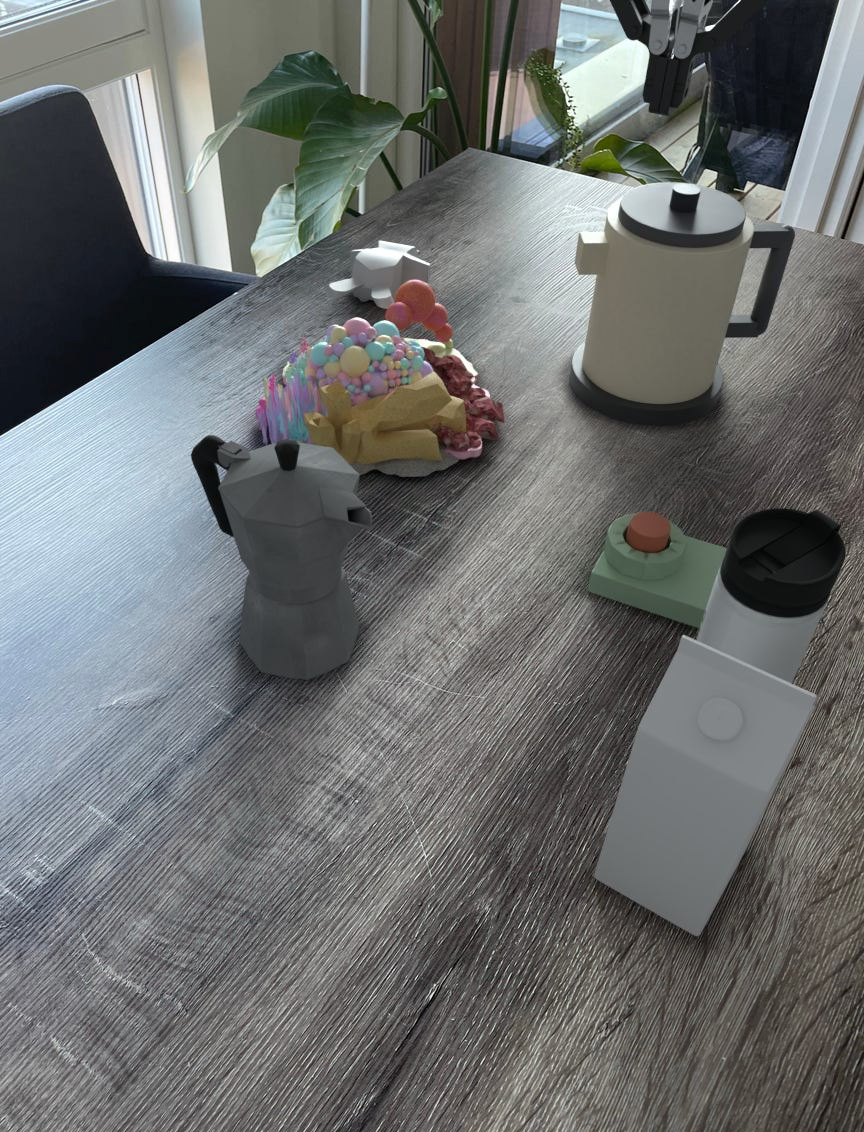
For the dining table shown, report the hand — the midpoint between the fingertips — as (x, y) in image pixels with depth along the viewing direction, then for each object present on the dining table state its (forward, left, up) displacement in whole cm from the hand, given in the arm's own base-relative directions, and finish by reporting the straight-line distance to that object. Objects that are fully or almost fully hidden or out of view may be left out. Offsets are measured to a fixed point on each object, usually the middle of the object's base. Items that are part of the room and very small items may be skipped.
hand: (661, 110), depth 73 cm
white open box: (+32, -20, -31) cm, 49 cm away
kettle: (-1, -17, -31) cm, 35 cm away
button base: (-12, +12, -31) cm, 35 cm away
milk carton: (-18, +38, -31) cm, 52 cm away
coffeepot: (+14, +31, -31) cm, 46 cm away
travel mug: (-18, +28, -31) cm, 46 cm away
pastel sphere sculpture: (+22, +1, -31) cm, 38 cm away
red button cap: (-8, +12, -27) cm, 31 cm away
